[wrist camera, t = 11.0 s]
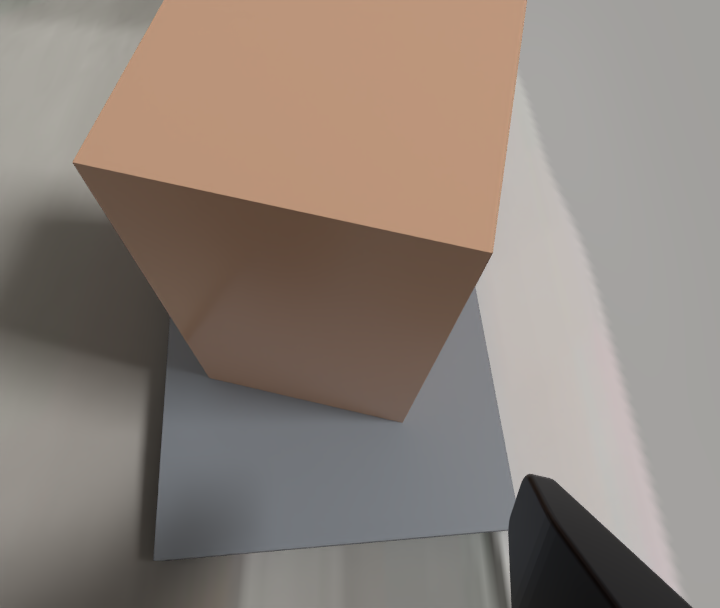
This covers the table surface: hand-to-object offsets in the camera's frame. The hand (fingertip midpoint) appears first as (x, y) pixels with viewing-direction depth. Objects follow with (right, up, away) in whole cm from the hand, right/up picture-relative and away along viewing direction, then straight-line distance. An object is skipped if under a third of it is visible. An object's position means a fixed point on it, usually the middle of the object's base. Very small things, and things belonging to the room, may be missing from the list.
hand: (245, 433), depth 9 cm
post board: (+1, +1, +10) cm, 10 cm away
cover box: (+1, +2, +9) cm, 9 cm away
